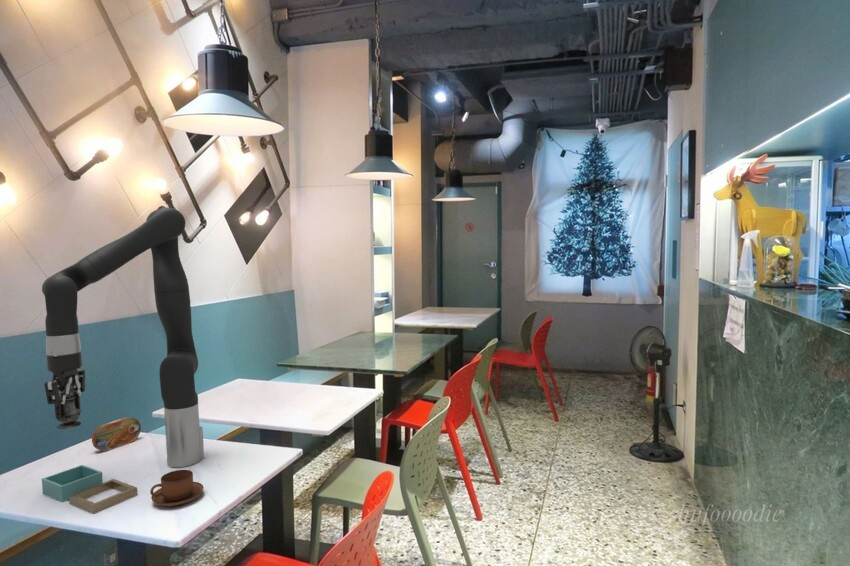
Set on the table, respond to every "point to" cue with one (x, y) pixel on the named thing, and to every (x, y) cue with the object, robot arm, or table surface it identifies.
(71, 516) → the table surface
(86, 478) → the bin
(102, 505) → the socket collar
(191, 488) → the cup and saucer
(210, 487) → the table surface
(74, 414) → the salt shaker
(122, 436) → the tin
